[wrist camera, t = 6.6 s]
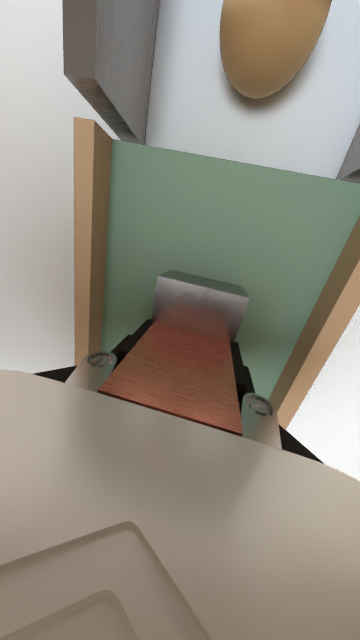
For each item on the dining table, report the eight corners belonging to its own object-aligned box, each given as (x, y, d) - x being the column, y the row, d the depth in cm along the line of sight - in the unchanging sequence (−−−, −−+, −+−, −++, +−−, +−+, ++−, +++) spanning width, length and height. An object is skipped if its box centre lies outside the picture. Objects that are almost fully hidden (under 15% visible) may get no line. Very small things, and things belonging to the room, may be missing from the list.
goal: (358, 186, 10) (472, 136, 6) (124, 144, 12) (63, 74, 7) (476, -66, 7) (927, -609, 3) (142, -89, 8) (53, -496, 4)
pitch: (233, 469, 19) (237, 512, 16) (96, 425, 21) (75, 456, 18) (368, 199, 10) (433, 178, 7) (111, 151, 12) (73, 116, 9)
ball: (263, 78, 7) (340, -212, 4) (192, 86, 9) (213, -100, 6) (312, 107, 9) (385, -74, 6) (245, 108, 11) (277, -26, 8)
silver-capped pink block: (209, 384, 14) (202, 533, 7) (152, 368, 15) (87, 491, 7) (241, 286, 11) (290, 357, 4) (170, 269, 12) (93, 305, 4)
